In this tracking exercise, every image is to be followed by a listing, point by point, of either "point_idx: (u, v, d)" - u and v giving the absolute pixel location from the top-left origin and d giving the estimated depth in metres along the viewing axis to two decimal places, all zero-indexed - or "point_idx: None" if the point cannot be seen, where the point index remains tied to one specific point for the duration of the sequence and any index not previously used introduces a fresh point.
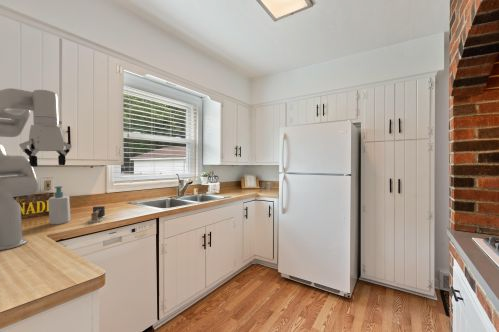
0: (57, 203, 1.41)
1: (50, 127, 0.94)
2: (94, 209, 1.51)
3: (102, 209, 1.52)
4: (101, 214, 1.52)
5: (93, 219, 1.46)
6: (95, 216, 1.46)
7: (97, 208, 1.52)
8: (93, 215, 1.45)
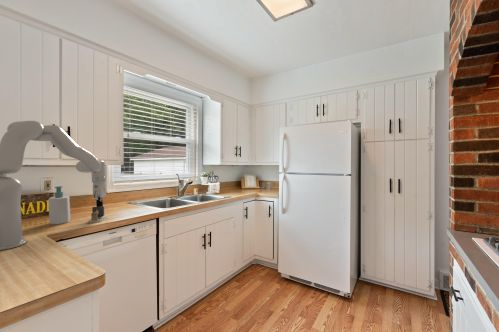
0: (57, 203, 1.41)
1: None
2: (94, 210, 1.51)
3: (102, 209, 1.52)
4: (101, 214, 1.52)
5: (93, 219, 1.46)
6: (95, 216, 1.46)
7: (96, 208, 1.51)
8: (93, 215, 1.45)
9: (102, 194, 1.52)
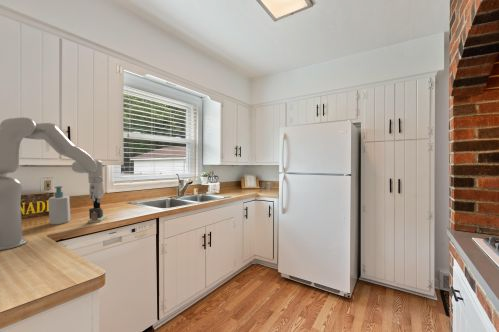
0: (57, 203, 1.41)
1: None
2: (91, 211, 1.46)
3: (99, 211, 1.47)
4: (98, 216, 1.47)
5: (93, 219, 1.46)
6: (95, 216, 1.46)
7: (94, 210, 1.46)
8: (93, 215, 1.45)
9: (99, 195, 1.47)
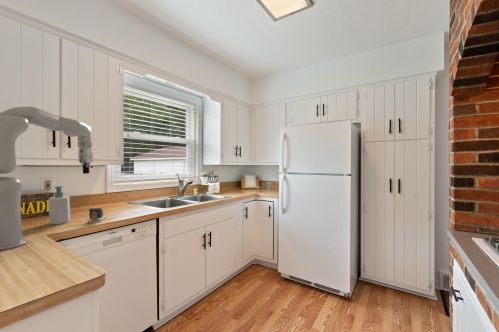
0: (57, 203, 1.41)
1: None
2: (91, 211, 1.46)
3: (99, 211, 1.47)
4: (98, 216, 1.47)
5: (93, 219, 1.46)
6: (95, 216, 1.46)
7: (94, 210, 1.46)
8: (93, 215, 1.45)
9: (88, 159, 1.52)
